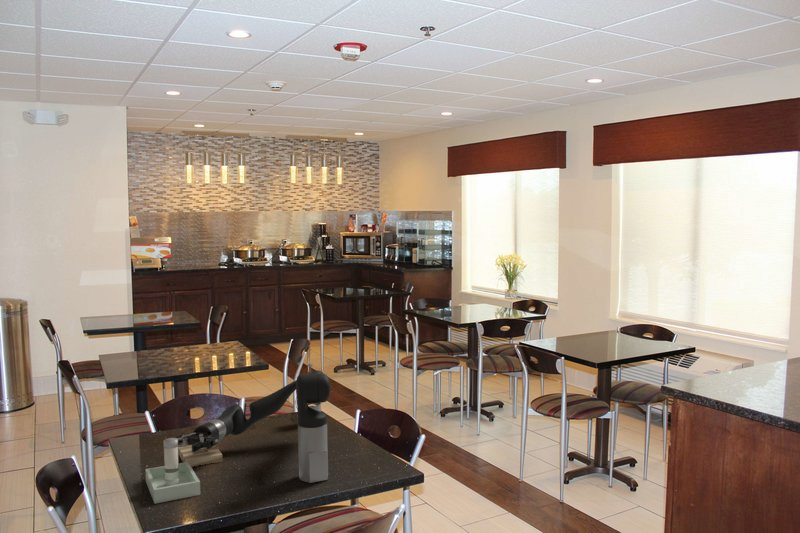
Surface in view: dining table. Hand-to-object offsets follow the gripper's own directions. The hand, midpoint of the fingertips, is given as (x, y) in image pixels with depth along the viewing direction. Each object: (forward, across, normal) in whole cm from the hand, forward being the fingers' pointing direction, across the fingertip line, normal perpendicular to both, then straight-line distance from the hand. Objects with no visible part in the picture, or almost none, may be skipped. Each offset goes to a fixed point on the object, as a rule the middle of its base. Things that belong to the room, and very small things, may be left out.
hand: (181, 447), depth 205 cm
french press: (-69, +12, +11) cm, 71 cm away
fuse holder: (-21, -8, +11) cm, 25 cm away
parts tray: (+5, 0, +11) cm, 12 cm away
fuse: (+5, 0, +10) cm, 11 cm away
